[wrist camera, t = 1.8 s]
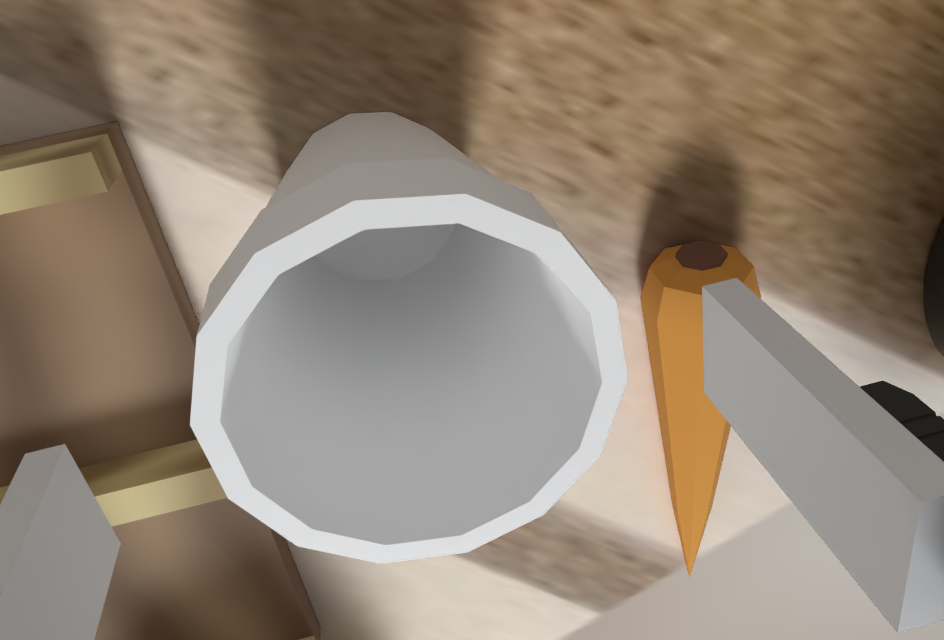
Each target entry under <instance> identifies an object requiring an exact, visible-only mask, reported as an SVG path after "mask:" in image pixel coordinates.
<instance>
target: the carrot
mask: <svg viewBox="0 0 944 640" xmlns="http://www.w3.org/2000/svg"><path fill="white" fill-rule="evenodd" d="M734 278H738V279H739V280H740V281H741V282H742V283H743V284H744V285H745V286H747V287H748V288H749V289H750V290H751V291H752V292H753V293H754V294H756V295H757V296H758V297H759V298H760V299H761V295H760V291H759V286H758V282H757V278H756V274H755V269H754V266H753V265H752V264H751V263H750V262H749V261H748V260H747V259H746V258H745V256H744V255H743V254H742V253H741V252H740V251H739V250H738V249H737V248H736V247H731V246H726V245H720V244H718V243H712V242H707V241H702V240H699V241H695V242H691V243H686V244H682V245H678V246H673V247H669V248H665V249H664V250H663V251H662V252H661V253H660V255H659V256H658V257H657V258H656V260H655V261H654V262H653V263H652V265H651V266H650V267H649V270H648V274H647V277H646V280H645V284H644V287H643V290H642V294H641V303H642V310H643V316H644V323H645V329H646V336H647V342H648V349H649V355H650V362H651V368H652V375H653V381H654V388H655V394H656V401H657V407H658V414H659V420H660V427H661V434H662V440H663V447H664V453H665V460H666V466H667V473H668V479H669V486H670V492H671V499H672V505H673V510H674V514H675V518H676V522H677V527H678V531H679V535H680V540H681V544H682V548H683V552H684V557H685V561H686V565H687V570H688V574H689V576H690V574H691V571H692V568H693V564H694V561H695V558H696V555H697V552H698V549H699V545H700V542H701V539H702V536H703V533H704V530H705V526H706V523H707V520H708V517H709V514H710V511H711V508H712V504H713V499H714V495H715V491H716V487H717V482H718V478H719V474H720V470H721V465H722V461H723V457H724V452H725V448H726V444H727V440H728V435H729V431H730V427H731V425H730V424H729V423H728V422H727V420H726V419H725V418H724V417H723V415H722V414H721V413H720V412H719V410H718V409H717V408H716V407H715V405H714V404H713V403H712V402H711V400H710V399H709V398H708V397H707V395H706V394H705V393H704V369H703V307H702V286H705V285H709V284H713V283H717V282H722V281H726V280H730V279H734Z"/></svg>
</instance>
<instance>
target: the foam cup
mask: <svg viewBox="0 0 944 640" xmlns="http://www.w3.org/2000/svg"><path fill="white" fill-rule="evenodd" d="M627 381H628V378H627V371H626V364H625V357H624V351H623V344H622V337H621V330H620V324H619V317H618V310H617V303H616V300H615V298H614V297H613V296H612V294H611V293H610V292H609V290H608V289H607V288H606V286H605V285H604V284H603V282H602V281H601V280H600V278H599V277H598V276H597V275H596V273H595V272H594V271H593V269H592V268H591V267H590V265H589V264H588V263H587V261H586V260H585V259H584V257H583V256H582V255H581V254H580V252H579V251H578V250H577V249H576V247H575V246H574V245H573V244H572V242H571V241H570V240H569V239H568V238H567V236H566V235H565V234H564V233H563V231H562V230H561V229H560V228H559V226H558V225H557V224H556V223H555V222H554V220H553V219H552V218H551V217H550V215H549V214H548V213H547V212H546V210H545V209H544V208H543V207H542V206H541V204H540V203H539V202H538V201H537V199H536V198H535V197H534V196H533V194H532V193H530V192H527V191H525V190H523V189H520V188H518V187H516V186H513V185H511V184H508V183H506V182H504V181H501V180H499V179H497V178H496V177H494V176H493V175H492V174H490V173H489V172H488V171H486V170H485V169H484V168H482V167H481V166H479V165H478V164H477V163H475V162H474V161H473V160H471V159H470V158H469V157H467V156H466V155H465V154H463V153H462V152H461V151H459V150H458V149H457V148H455V147H454V146H453V145H451V144H450V143H449V142H447V141H446V140H445V139H443V138H442V137H441V136H439V135H438V134H436V133H435V132H434V131H432V130H430V129H429V128H427V127H425V126H423V125H420V124H418V123H416V122H413V121H411V120H409V119H406V118H404V117H402V116H399V115H397V114H395V113H392V112H375V113H352V114H348V115H346V116H344V117H342V118H340V119H338V120H337V121H335V122H333V123H331V124H329V125H327V126H326V127H324V128H322V129H320V130H318V131H316V132H314V133H313V134H312V136H311V137H310V138H309V140H308V141H307V143H306V144H305V146H304V147H303V148H302V150H301V151H300V153H299V154H298V156H297V157H296V159H295V160H294V161H293V163H292V164H291V166H290V167H289V169H288V170H287V172H286V173H285V175H284V177H283V179H282V180H281V182H280V184H279V185H278V187H277V189H276V191H275V192H274V194H273V196H272V197H271V199H270V201H269V203H268V204H267V206H266V208H264V209H262V210H261V211H260V213H259V214H258V216H257V217H256V219H255V220H254V222H253V223H252V224H251V226H250V227H249V229H248V230H247V232H246V233H245V235H244V236H243V237H242V239H241V240H240V242H239V243H238V245H237V246H236V248H235V249H234V250H233V252H232V253H231V255H230V256H229V258H228V259H227V261H226V262H225V264H224V265H223V266H222V268H221V269H220V271H219V272H218V274H217V275H216V277H215V278H214V279H213V281H212V282H211V284H210V287H209V290H208V294H207V298H206V302H205V306H204V310H203V313H202V317H201V321H200V325H199V329H198V333H197V337H196V350H195V363H194V376H193V389H192V402H191V415H190V426H191V428H192V430H193V432H194V434H195V436H196V438H197V440H198V442H199V444H200V445H201V447H202V449H203V451H204V453H205V455H206V457H207V459H208V461H209V463H210V465H211V467H212V469H213V470H214V472H215V474H216V476H217V478H218V480H219V482H220V484H221V486H222V488H223V490H224V492H225V493H226V495H227V497H228V499H229V500H231V501H232V502H234V503H235V504H237V505H238V506H240V507H241V508H242V509H244V510H245V511H247V512H248V513H250V514H251V515H253V516H254V517H255V518H257V519H258V520H260V521H261V522H263V523H264V524H266V525H267V526H269V527H270V528H271V529H273V530H274V531H276V532H277V533H279V534H280V535H282V536H283V537H284V538H286V539H287V540H289V541H290V542H292V543H293V544H295V545H296V546H298V547H303V548H308V549H312V550H317V551H322V552H327V553H331V554H336V555H341V556H346V557H351V558H355V559H360V560H365V561H370V562H374V563H379V564H385V563H393V562H400V561H407V560H415V559H422V558H430V557H437V556H445V555H452V554H459V553H467V552H469V551H471V550H473V549H475V548H477V547H479V546H481V545H483V544H485V543H487V542H489V541H491V540H493V539H496V538H498V537H500V536H502V535H504V534H506V533H508V532H510V531H512V530H514V529H516V528H518V527H520V526H522V525H524V524H526V523H528V522H530V521H532V520H534V519H536V518H538V517H540V516H542V515H544V514H545V513H546V512H547V511H548V510H549V509H550V508H551V507H552V505H553V504H554V503H555V502H556V501H557V500H558V499H559V498H560V497H561V496H562V495H563V494H564V493H565V492H566V491H567V490H568V489H569V488H570V487H571V486H572V484H573V483H574V482H575V481H576V480H577V479H578V478H579V477H580V476H581V475H582V474H583V473H584V472H585V471H586V470H587V469H588V468H589V467H590V466H591V465H592V464H593V462H594V461H595V460H596V459H597V458H598V457H599V456H600V455H601V453H602V450H603V447H604V444H605V442H606V439H607V436H608V433H609V431H610V428H611V425H612V422H613V420H614V417H615V414H616V411H617V409H618V406H619V403H620V400H621V398H622V395H623V392H624V389H625V387H626V384H627Z"/></svg>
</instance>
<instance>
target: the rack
mask: <svg viewBox="0 0 944 640" xmlns="http://www.w3.org/2000/svg"><path fill="white" fill-rule="evenodd" d="M198 329H199V323H198V321H197V318H196V316H195V313H194V311H193V308H192V306H191V303H190V301H189V298H188V296H187V293H186V291H185V288H184V286H183V283H182V281H181V278H180V276H179V273H178V271H177V268H176V266H175V263H174V261H173V258H172V256H171V253H170V251H169V248H168V246H167V243H166V241H165V238H164V236H163V233H162V231H161V228H160V226H159V223H158V221H157V218H156V216H155V213H154V211H153V208H152V206H151V203H150V201H149V198H148V196H147V193H146V191H145V188H144V186H143V183H142V181H141V178H140V176H139V173H138V171H137V169H136V166H135V164H134V161H133V159H132V156H131V154H130V151H129V149H128V146H127V144H126V141H125V139H124V136H123V134H122V131H121V129H120V126H119V124H118V121H117V122H112V123H107V124H103V125H98V126H93V127H88V128H84V129H79V130H74V131H70V132H65V133H60V134H56V135H51V136H46V137H41V138H37V139H32V140H27V141H23V142H18V143H13V144H8V145H4V146H0V504H1V502H2V500H3V498H4V496H5V494H6V492H7V490H8V488H9V486H10V484H11V481H12V479H13V477H14V475H15V473H16V471H17V469H18V467H19V465H20V463H21V461H22V459H23V457H24V455H25V454H26V453H30V452H34V451H38V450H42V449H46V448H50V447H54V446H58V445H63V444H65V445H66V447H67V448H68V450H69V452H70V454H71V455H72V457H73V459H74V461H75V463H76V464H77V466H78V468H79V470H80V472H81V473H82V475H83V477H84V479H85V481H86V482H87V484H88V486H89V488H90V489H91V491H92V493H93V495H94V497H95V498H96V500H97V502H98V504H99V506H100V507H101V509H102V511H103V513H104V514H105V516H106V518H107V520H108V522H109V523H110V525H111V527H112V529H113V531H114V532H115V534H116V536H117V538H118V539H119V541H120V543H121V544H120V548H119V551H118V555H117V559H116V562H115V566H114V570H113V573H112V577H111V581H110V584H109V588H108V592H107V595H106V599H105V603H104V606H103V610H102V614H101V617H100V621H99V625H98V628H97V632H96V635H95V639H94V640H320V625H319V622H318V620H317V617H316V615H315V612H314V610H313V607H312V605H311V602H310V600H309V597H308V595H307V592H306V590H305V587H304V585H303V582H302V580H301V577H300V575H299V572H298V570H297V567H296V565H295V562H294V560H293V557H292V555H291V552H290V550H289V547H288V545H287V542H286V540H285V538H284V537H283V536H282V535H280V534H279V533H277V532H276V531H274V530H273V529H271V528H270V527H269V526H267V525H266V524H264V523H263V522H261V521H260V520H258V519H257V518H255V517H254V516H253V515H251V514H250V513H248V512H247V511H245V510H244V509H242V508H241V507H240V506H238V505H237V504H235V503H234V502H232V501H231V500H229V499H228V497H227V495H226V493H225V492H224V490H223V488H222V486H221V484H220V482H219V480H218V478H217V476H216V474H215V472H214V470H213V469H212V467H211V465H210V463H209V461H208V459H207V457H206V455H205V453H204V451H203V449H202V447H201V445H200V444H199V442H198V440H197V438H196V436H195V434H194V432H193V430H192V428H191V426H190V415H191V402H192V389H193V376H194V363H195V350H196V337H197V333H198Z"/></svg>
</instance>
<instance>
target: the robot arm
mask: <svg viewBox="0 0 944 640" xmlns="http://www.w3.org/2000/svg"><path fill="white" fill-rule="evenodd" d="M702 307H703V369H704V393H705V394H706V395H707V397H708V398H709V399H710V400H711V402H712V403H713V404H714V405H715V407H716V408H717V409H718V410H719V412H720V413H721V414H722V415H723V417H724V418H725V419H726V420H727V422H728V423H729V424H730V425H731V427H732V428H733V429H734V430H735V432H736V433H737V434H738V435H739V436H740V438H741V439H742V440H743V441H744V443H745V444H746V445H747V446H748V448H749V449H750V450H751V451H752V453H753V454H754V455H755V456H756V458H757V459H758V460H759V461H760V463H761V464H762V465H763V466H764V468H765V469H766V470H767V471H768V473H769V474H770V475H771V476H772V478H773V479H774V480H775V481H776V483H777V484H778V485H779V486H780V488H781V489H782V490H783V491H784V493H785V494H786V495H787V496H788V497H789V499H790V500H791V501H792V502H793V504H794V505H795V506H796V507H797V509H798V510H799V511H800V512H801V514H802V515H803V516H804V517H805V519H806V520H807V521H808V522H809V524H810V525H811V526H812V527H813V529H814V530H815V531H816V532H817V534H818V535H819V536H820V537H821V539H822V540H823V541H824V542H825V544H826V545H827V546H828V547H829V549H830V550H831V551H832V552H833V553H834V555H835V556H836V557H837V558H838V560H839V561H840V562H841V563H842V565H843V566H844V567H845V568H846V570H847V571H848V572H849V573H850V575H851V576H852V577H853V578H854V580H855V581H856V582H857V583H858V585H859V586H860V587H861V588H862V590H863V591H864V592H865V593H866V594H867V596H868V597H869V598H870V600H871V601H872V602H873V603H874V605H875V606H876V607H877V608H878V609H879V611H880V612H881V613H882V615H883V616H884V617H885V618H886V620H887V621H888V622H889V623H890V624H891V626H892V627H893V628H894V629H895V631H896V632H897V633H900V632H904V631H907V630H911V629H914V628H917V627H921V626H924V625H928V624H931V623H934V622H938V621H941V620H944V419H943V418H942V417H940V416H938V417H937V416H936V414H935V412H934V411H933V410H932V409H931V408H929V407H928V406H927V405H926V404H925V403H923V402H922V401H921V400H920V399H919V398H917V397H916V396H915V395H914V394H912V393H910V392H907V391H905V390H903V389H901V388H898V387H896V386H894V385H891V384H889V383H887V382H885V381H880V382H876V383H872V384H868V385H864V386H861V387H859V386H858V385H857V384H856V383H854V382H853V381H852V380H851V379H850V378H849V377H848V376H847V375H845V374H844V373H843V372H842V371H841V370H840V369H839V368H838V367H836V366H835V365H834V364H833V363H832V362H831V361H830V360H829V359H827V358H826V357H825V356H824V355H823V354H822V353H821V352H820V351H818V350H817V349H816V348H815V347H814V346H813V345H812V344H811V343H809V342H808V341H807V340H806V339H805V338H804V337H803V336H802V335H801V334H799V333H798V332H797V331H796V330H795V329H794V328H793V327H792V326H790V325H789V324H788V323H787V322H786V321H785V320H784V319H783V318H781V317H780V316H779V315H778V314H777V313H776V312H775V311H774V310H772V309H771V308H770V307H769V306H768V305H767V304H766V303H765V302H763V301H762V300H761V299H760V298H759V297H758V296H757V295H756V294H754V293H753V292H752V291H751V290H750V289H749V288H748V287H747V286H745V285H744V284H743V283H742V282H741V281H740V280H739V279H738V278H734V279H730V280H726V281H722V282H717V283H713V284H709V285H705V286H702ZM924 308H925V316H926V322H927V325H928V329H929V332H930V335H931V337H932V339H933V341H934V343H935V345H936V347H937V348H938V350H939V352H940V353H941V354H942V355H943V356H944V222H943V224H942V226H941V228H940V230H939V233H938V235H937V238H936V241H935V243H934V246H933V249H932V252H931V255H930V259H929V263H928V267H927V273H926V278H925V288H924ZM120 544H121V543H120V541H119V539H118V538H117V536H116V534H115V532H114V531H113V529H112V527H111V525H110V523H109V522H108V520H107V518H106V516H105V514H104V513H103V511H102V509H101V507H100V506H99V504H98V502H97V500H96V498H95V497H94V495H93V493H92V491H91V489H90V488H89V486H88V484H87V482H86V481H85V479H84V477H83V475H82V473H81V472H80V470H79V468H78V466H77V464H76V463H75V461H74V459H73V457H72V455H71V454H70V452H69V450H68V448H67V447H66V445H65V444H63V445H58V446H54V447H50V448H46V449H42V450H38V451H34V452H30V453H26V454H25V455H24V457H23V459H22V461H21V463H20V465H19V467H18V469H17V471H16V473H15V475H14V477H13V479H12V481H11V484H10V486H9V488H8V490H7V492H6V494H5V496H4V498H3V500H2V502H1V504H0V640H94V639H95V635H96V632H97V628H98V625H99V621H100V617H101V614H102V610H103V606H104V603H105V599H106V595H107V592H108V588H109V584H110V581H111V577H112V573H113V570H114V566H115V562H116V559H117V555H118V551H119V548H120Z"/></svg>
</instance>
